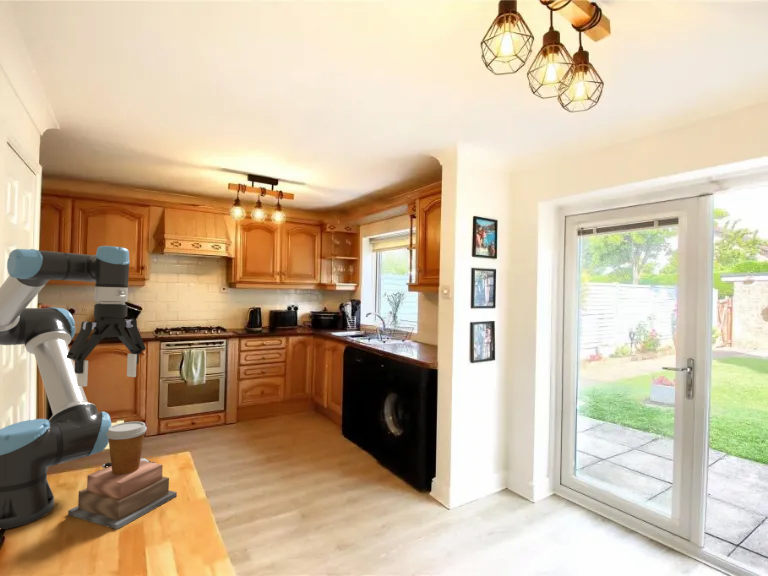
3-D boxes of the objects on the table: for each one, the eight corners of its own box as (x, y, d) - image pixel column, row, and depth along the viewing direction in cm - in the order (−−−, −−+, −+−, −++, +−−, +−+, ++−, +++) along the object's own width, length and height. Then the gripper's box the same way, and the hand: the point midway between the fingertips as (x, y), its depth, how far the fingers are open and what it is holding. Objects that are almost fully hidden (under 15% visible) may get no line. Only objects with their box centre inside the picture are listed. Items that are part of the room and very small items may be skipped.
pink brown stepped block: (68, 514, 106) (69, 477, 106) (131, 485, 123) (132, 453, 123) (116, 529, 100) (118, 490, 100) (176, 496, 116) (177, 462, 117)
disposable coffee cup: (139, 475, 108) (140, 430, 108) (98, 479, 105) (100, 433, 106) (150, 461, 117) (151, 420, 117) (112, 464, 115) (114, 422, 115)
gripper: (71, 303, 97) (68, 392, 96) (160, 303, 120) (158, 374, 120) (51, 302, 99) (47, 388, 99) (142, 302, 123) (139, 372, 122)
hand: (108, 381), depth 109 cm, fingers open, 13 cm apart
